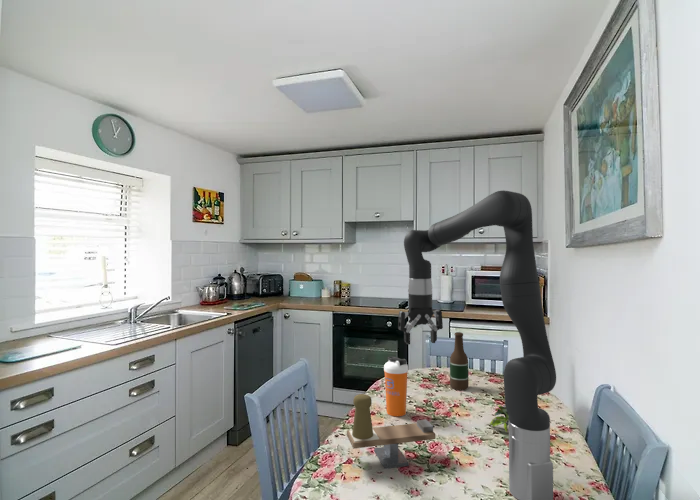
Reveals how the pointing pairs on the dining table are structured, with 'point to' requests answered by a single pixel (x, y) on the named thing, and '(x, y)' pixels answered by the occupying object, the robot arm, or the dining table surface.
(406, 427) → the seesaw board
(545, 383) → the robot arm
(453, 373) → the beer bottle
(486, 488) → the dining table surface
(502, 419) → the passion flower
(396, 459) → the pivot stand
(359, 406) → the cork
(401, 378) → the shaker bottle
